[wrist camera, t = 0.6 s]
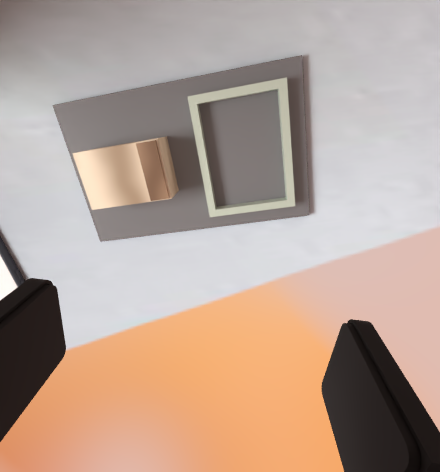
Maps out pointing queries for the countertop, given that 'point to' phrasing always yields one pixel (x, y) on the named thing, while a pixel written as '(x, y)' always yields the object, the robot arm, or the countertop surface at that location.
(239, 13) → the countertop surface
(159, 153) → the block
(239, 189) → the mat
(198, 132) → the tray
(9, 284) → the smartphone
